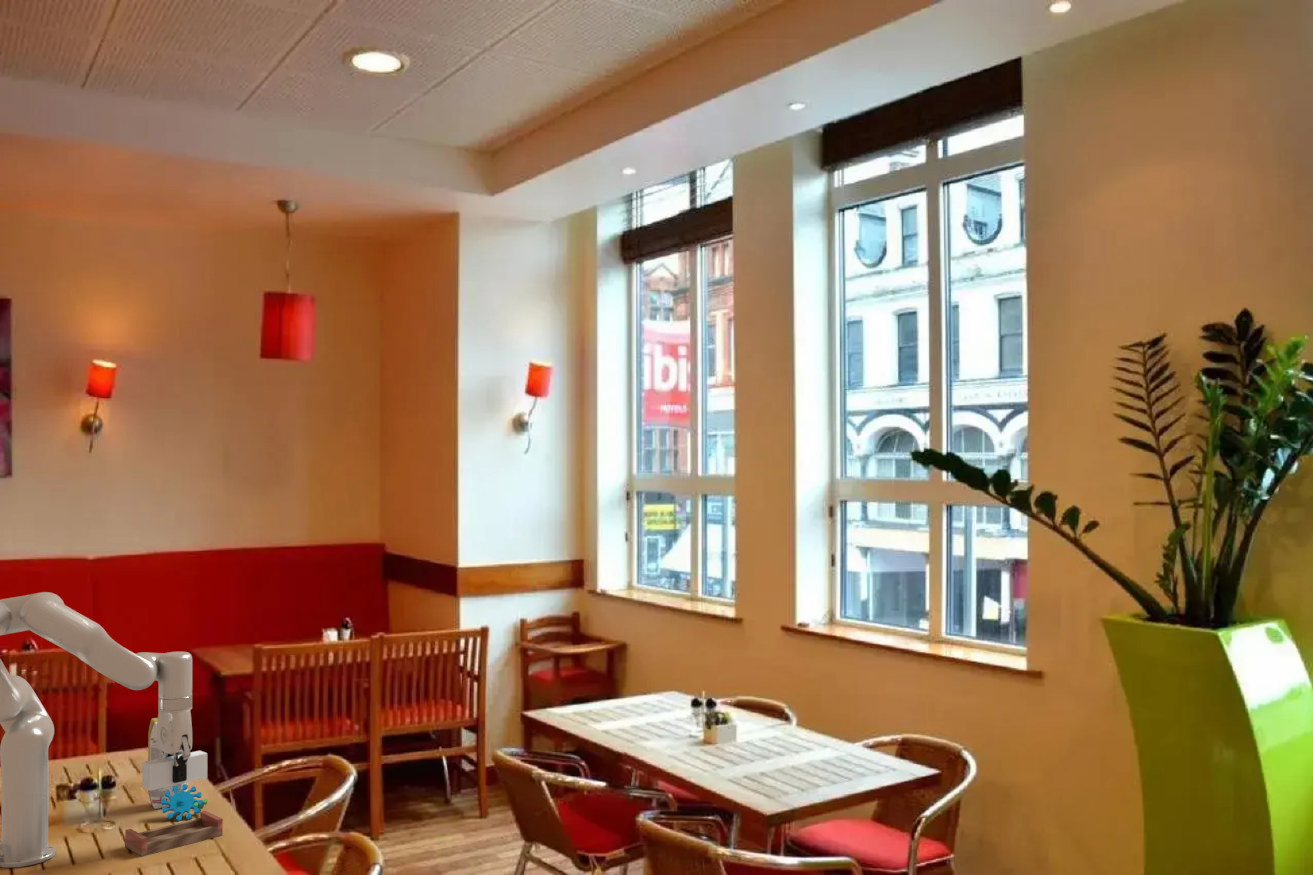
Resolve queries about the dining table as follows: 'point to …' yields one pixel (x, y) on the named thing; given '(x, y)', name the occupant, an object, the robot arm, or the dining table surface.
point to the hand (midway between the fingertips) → (175, 779)
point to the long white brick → (162, 771)
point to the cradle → (174, 834)
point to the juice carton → (154, 754)
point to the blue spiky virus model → (183, 802)
